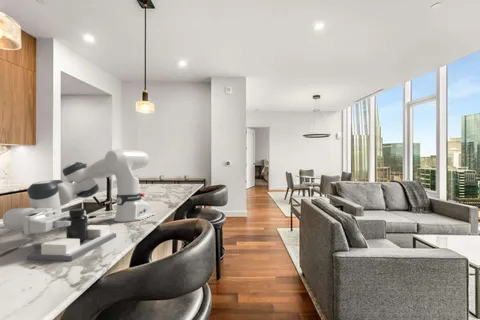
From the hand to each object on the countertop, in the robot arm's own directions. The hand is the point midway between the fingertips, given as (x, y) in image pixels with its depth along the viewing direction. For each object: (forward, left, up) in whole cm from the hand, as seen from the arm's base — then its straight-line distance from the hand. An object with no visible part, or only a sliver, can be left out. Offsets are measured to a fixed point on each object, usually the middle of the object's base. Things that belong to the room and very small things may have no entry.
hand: (79, 220), depth 90 cm
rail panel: (0, -1, -10) cm, 10 cm away
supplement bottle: (0, -1, -8) cm, 8 cm away
